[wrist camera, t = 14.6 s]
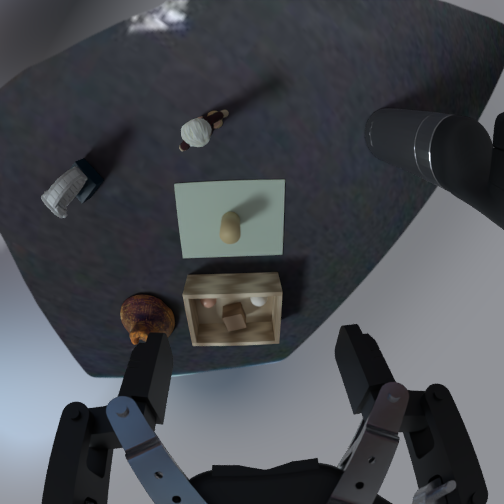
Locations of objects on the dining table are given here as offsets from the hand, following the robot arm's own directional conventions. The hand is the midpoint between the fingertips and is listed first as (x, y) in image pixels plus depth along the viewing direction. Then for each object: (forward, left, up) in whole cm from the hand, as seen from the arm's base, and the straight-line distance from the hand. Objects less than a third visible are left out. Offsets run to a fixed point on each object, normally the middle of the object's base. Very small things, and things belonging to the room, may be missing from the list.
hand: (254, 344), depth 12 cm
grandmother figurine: (+5, -8, -33) cm, 35 cm away
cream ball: (-3, +21, -32) cm, 39 cm away
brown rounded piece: (+20, +27, -34) cm, 48 cm away
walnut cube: (+2, +25, -32) cm, 41 cm away
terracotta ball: (+6, +21, -32) cm, 39 cm away
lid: (+2, +7, -34) cm, 35 cm away
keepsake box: (+2, +23, -33) cm, 40 cm away
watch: (+26, -2, -33) cm, 42 cm away
